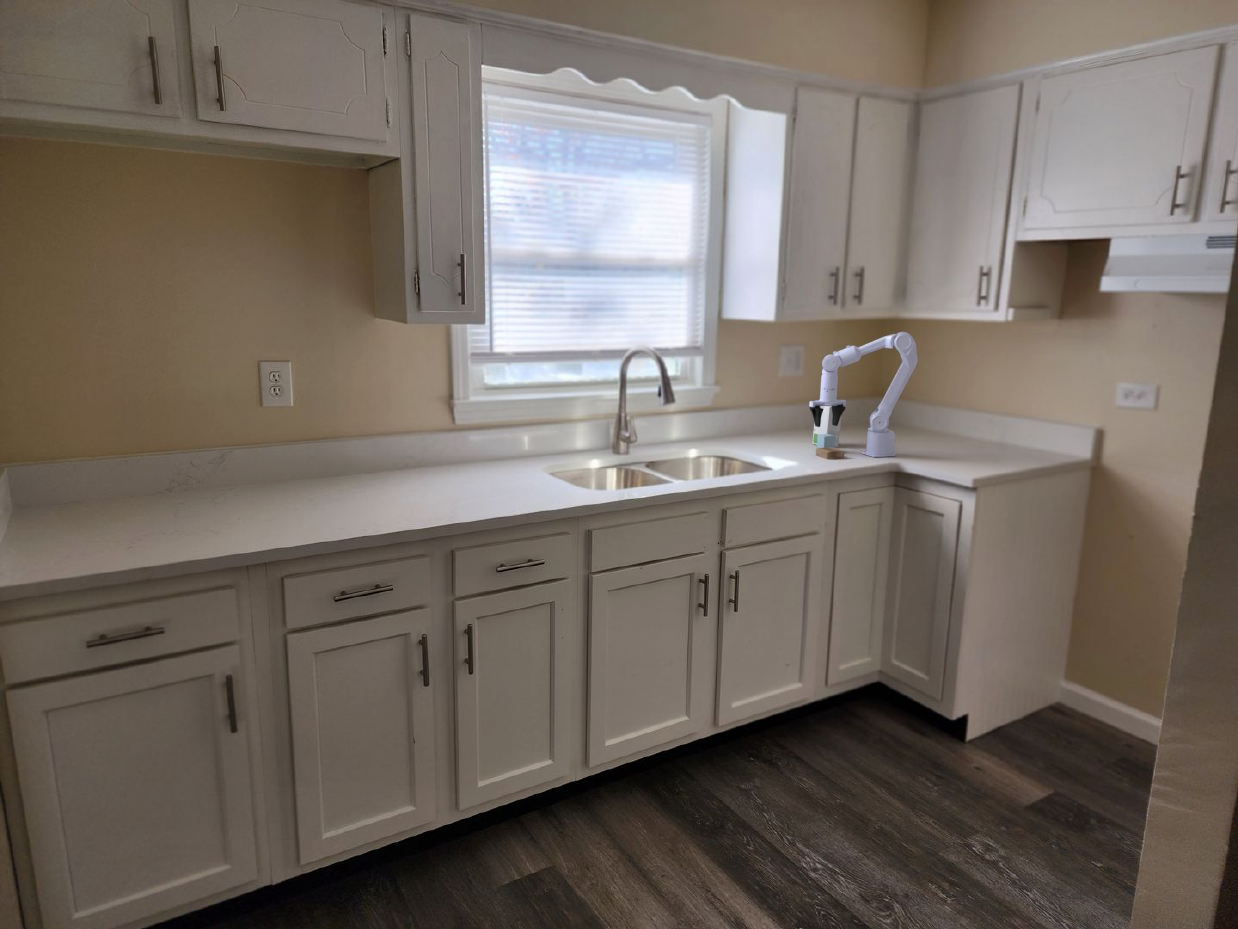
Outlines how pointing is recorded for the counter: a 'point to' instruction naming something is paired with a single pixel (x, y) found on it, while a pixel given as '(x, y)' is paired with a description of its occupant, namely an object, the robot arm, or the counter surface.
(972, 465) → the counter surface
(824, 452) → the walnut base
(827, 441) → the blue block
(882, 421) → the robot arm
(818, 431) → the skincare box
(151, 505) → the counter surface
